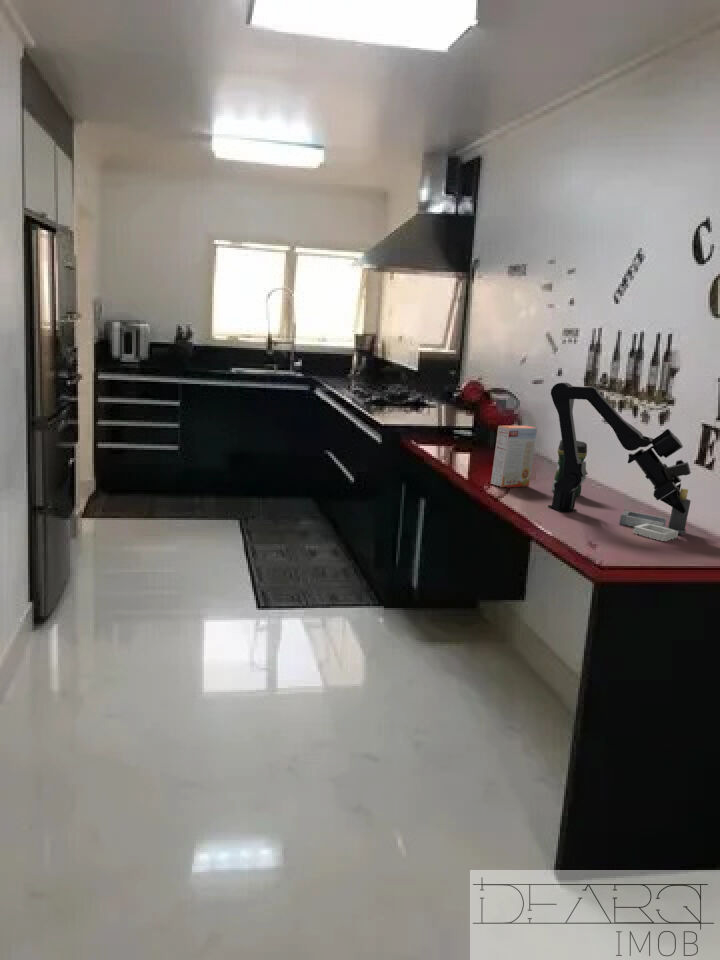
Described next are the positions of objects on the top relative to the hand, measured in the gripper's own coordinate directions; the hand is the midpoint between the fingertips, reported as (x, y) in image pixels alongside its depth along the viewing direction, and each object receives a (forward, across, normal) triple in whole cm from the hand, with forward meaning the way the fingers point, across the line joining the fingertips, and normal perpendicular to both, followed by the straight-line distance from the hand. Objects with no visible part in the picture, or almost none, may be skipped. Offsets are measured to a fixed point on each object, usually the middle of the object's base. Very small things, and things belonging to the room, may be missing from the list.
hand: (685, 510), depth 232 cm
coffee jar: (-23, +28, +33) cm, 49 cm away
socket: (0, -10, +9) cm, 14 cm away
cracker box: (-36, +23, +46) cm, 63 cm away
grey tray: (-3, 0, +12) cm, 13 cm away
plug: (+4, 0, +6) cm, 7 cm away
